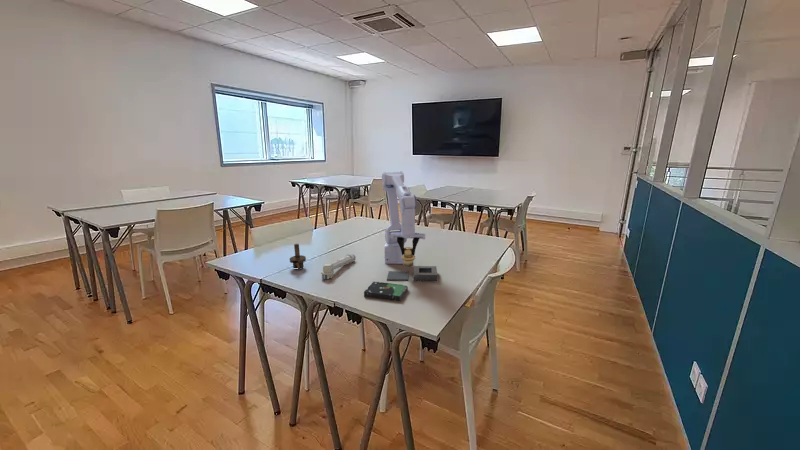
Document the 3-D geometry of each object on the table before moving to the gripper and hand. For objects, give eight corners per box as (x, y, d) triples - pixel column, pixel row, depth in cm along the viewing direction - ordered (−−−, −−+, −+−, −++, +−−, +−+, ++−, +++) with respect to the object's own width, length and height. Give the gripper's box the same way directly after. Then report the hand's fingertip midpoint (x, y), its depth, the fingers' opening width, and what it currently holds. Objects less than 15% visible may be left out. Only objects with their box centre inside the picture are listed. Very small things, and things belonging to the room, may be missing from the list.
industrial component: (301, 271, 150) (299, 247, 147) (287, 271, 151) (284, 246, 148) (310, 264, 159) (308, 241, 156) (297, 263, 160) (295, 240, 157)
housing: (413, 281, 138) (413, 274, 137) (414, 272, 147) (414, 266, 146) (437, 281, 137) (437, 274, 136) (436, 272, 147) (436, 266, 146)
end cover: (400, 267, 139) (400, 250, 137) (403, 262, 145) (402, 246, 143) (414, 267, 138) (414, 251, 136) (416, 262, 144) (416, 246, 142)
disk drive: (363, 298, 124) (400, 302, 120) (363, 292, 123) (400, 296, 119) (373, 287, 134) (408, 291, 130) (373, 281, 133) (408, 284, 129)
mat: (386, 280, 139) (386, 279, 139) (388, 272, 147) (388, 271, 147) (407, 280, 138) (407, 279, 138) (408, 272, 147) (408, 271, 147)
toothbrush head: (356, 254, 161) (328, 264, 138) (356, 267, 162) (328, 279, 139) (347, 253, 163) (318, 263, 140) (347, 265, 164) (318, 278, 141)
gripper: (389, 225, 134) (390, 256, 138) (424, 226, 132) (424, 258, 135) (392, 221, 141) (393, 251, 144) (425, 222, 138) (425, 252, 142)
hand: (408, 254), depth 140 cm, fingers closed on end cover, 4 cm apart
